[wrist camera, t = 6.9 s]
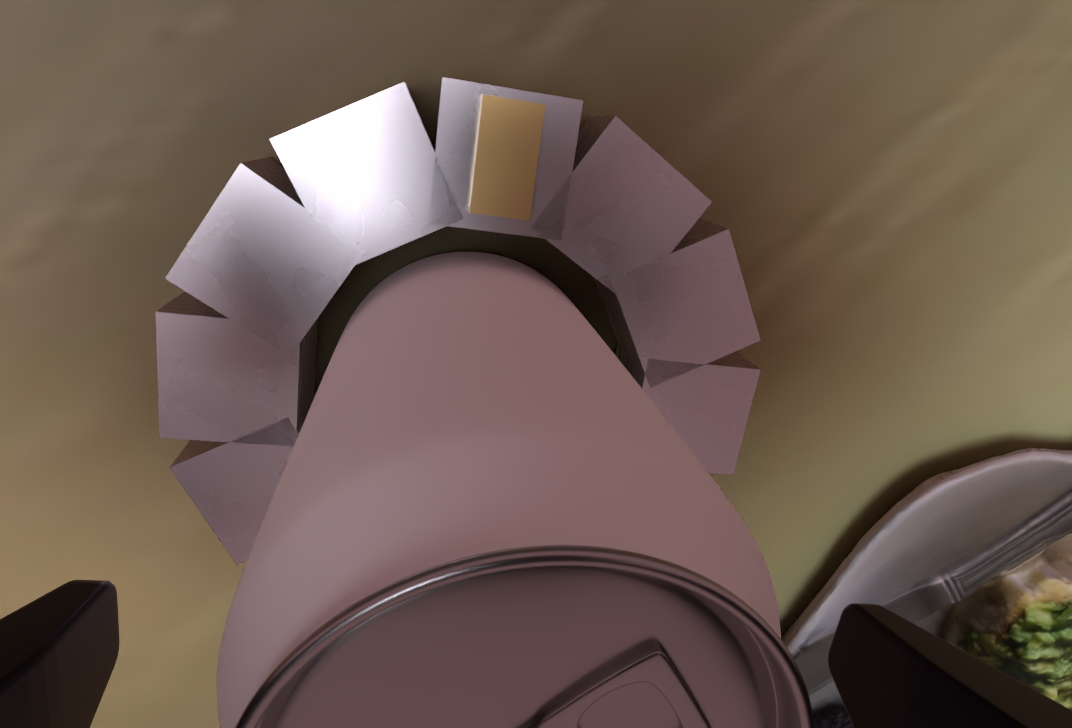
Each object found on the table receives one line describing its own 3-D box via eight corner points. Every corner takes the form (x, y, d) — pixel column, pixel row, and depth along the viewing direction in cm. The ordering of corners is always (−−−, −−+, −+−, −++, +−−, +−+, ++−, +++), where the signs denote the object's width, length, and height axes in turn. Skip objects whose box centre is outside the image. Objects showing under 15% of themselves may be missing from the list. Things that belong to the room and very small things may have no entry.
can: (282, 329, 17) (-27, 765, 5) (517, 197, 16) (710, 358, 5) (423, 525, 19) (413, 1114, 8) (630, 411, 19) (934, 846, 7)
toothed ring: (659, 586, 21) (693, 654, 18) (198, 572, 18) (160, 646, 16) (766, 137, 17) (828, 139, 14) (193, 44, 14) (140, 25, 12)
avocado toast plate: (987, 262, 19) (1150, 303, 15) (1321, 509, 24) (1514, 593, 20) (615, 756, 23) (657, 901, 19) (967, 878, 28) (1063, 1013, 24)
